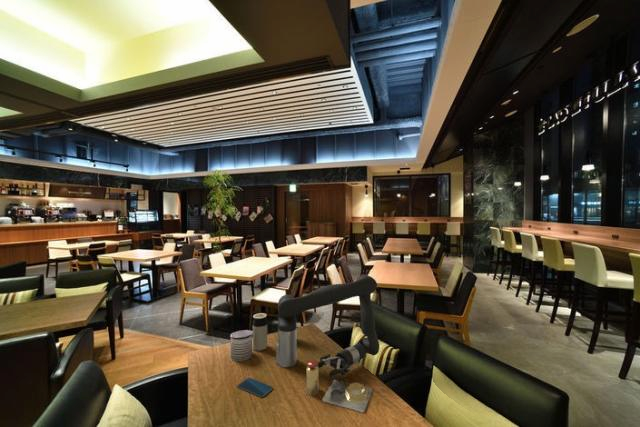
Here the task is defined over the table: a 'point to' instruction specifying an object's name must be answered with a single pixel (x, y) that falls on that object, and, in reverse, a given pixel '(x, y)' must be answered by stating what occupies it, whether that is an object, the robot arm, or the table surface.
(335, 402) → the fitting plate
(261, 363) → the table surface
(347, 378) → the table surface
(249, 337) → the can
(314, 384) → the brass valve
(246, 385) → the smartphone
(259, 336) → the travel mug
